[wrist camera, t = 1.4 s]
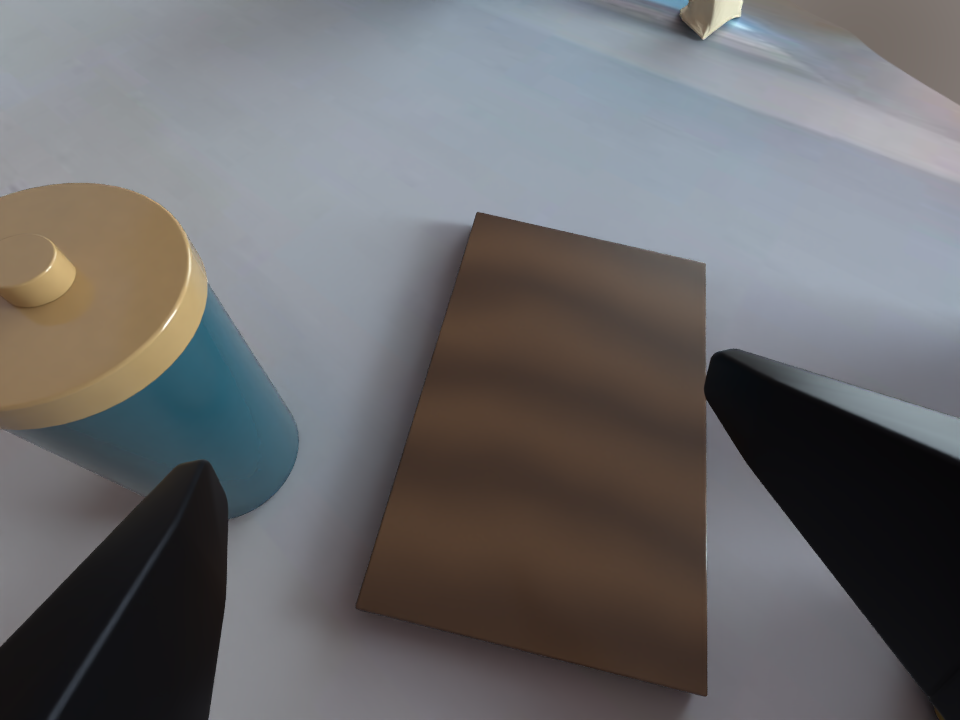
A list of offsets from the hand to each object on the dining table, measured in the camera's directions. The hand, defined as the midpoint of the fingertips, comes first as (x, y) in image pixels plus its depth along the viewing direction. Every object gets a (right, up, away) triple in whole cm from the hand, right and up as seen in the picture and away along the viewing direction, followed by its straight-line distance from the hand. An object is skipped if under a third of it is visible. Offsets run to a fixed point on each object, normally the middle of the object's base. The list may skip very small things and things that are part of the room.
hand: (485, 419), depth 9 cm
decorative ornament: (+21, +32, +37) cm, 53 cm away
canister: (-12, -3, +14) cm, 19 cm away
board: (+4, -1, +17) cm, 17 cm away
